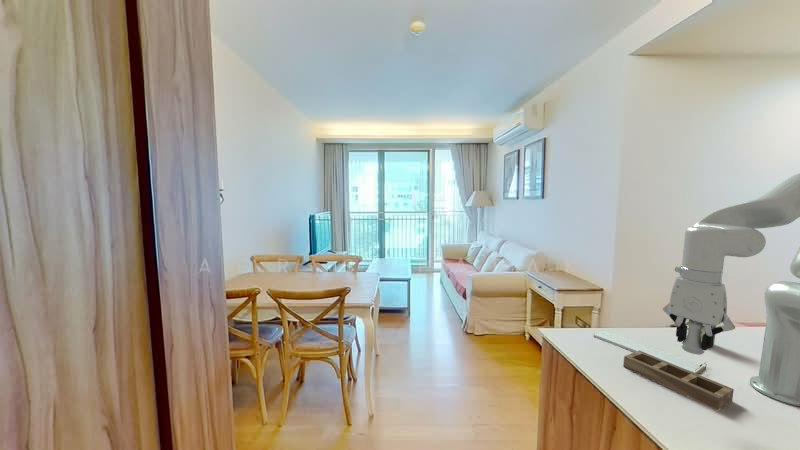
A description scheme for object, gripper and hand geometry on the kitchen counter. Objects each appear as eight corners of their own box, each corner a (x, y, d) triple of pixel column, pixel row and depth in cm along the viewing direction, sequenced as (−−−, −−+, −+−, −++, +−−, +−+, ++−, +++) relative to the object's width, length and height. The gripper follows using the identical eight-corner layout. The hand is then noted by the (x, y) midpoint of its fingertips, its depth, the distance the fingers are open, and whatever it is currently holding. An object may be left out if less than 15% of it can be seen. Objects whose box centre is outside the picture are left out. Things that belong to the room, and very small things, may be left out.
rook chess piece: (688, 354, 81) (691, 324, 80) (677, 345, 85) (679, 317, 84) (709, 356, 80) (712, 325, 79) (696, 347, 84) (699, 318, 83)
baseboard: (606, 332, 129) (593, 338, 123) (607, 325, 128) (593, 331, 123) (706, 368, 103) (694, 377, 98) (707, 359, 103) (695, 368, 97)
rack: (638, 360, 106) (639, 350, 106) (732, 401, 86) (733, 389, 85) (623, 366, 102) (624, 356, 102) (717, 410, 82) (719, 398, 82)
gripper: (654, 269, 86) (648, 334, 88) (741, 286, 71) (732, 364, 73) (668, 266, 89) (662, 329, 91) (754, 282, 74) (745, 356, 77)
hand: (693, 343), depth 82 cm, fingers closed on rook chess piece, 4 cm apart
